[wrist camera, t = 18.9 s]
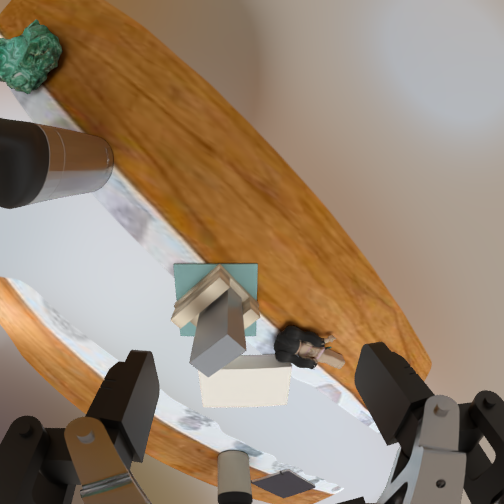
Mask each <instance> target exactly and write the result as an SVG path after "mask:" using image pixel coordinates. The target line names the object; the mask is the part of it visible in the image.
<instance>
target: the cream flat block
mask: <svg viewBox="0 0 504 504" xmlns="http://www.w3.org/2000/svg"><path fill="white" fill-rule="evenodd" d="M274 357H275V354H271V355H244V356H243V355H242V356H238V357H237V358H236V359H234V360H233V361H231V362H230V363H229V364H227V365H226V366H224V367H223V368H221V369H220V370H219V371H217V372H216V373H214V374H213V375H211V376H210V377H207V376H206V375H204V374H203V373H202V372H200V371H199V370H198V373H199V381H200V388H201V396H202V402H203V407H259V406H276V405H287V401H288V393H289V386H290V378H291V370H292V365H291V363H290V362H287V363H281V362H278V361H277V360H276V358H274Z"/></svg>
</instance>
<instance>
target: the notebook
mask: <svg viewBox="0 0 504 504" xmlns="http://www.w3.org/2000/svg"><path fill="white" fill-rule="evenodd" d="M251 483H252V484H254V485H256V486H258V487H260V488H262V489H264V490H267V491H269V492H271V493H273V494H275V495H277V496H280V497H282V498H286V497H289V496H292V495H295V494H298V493H301V492H304V491H307V490H310V489H313V488H315V485H314V484H312V483H311V482H309V481H307V480H306V479H304V478H302V477H301V476H299V475H297V474H296V473H294V472H292V471H291V470H289V469H286V470H283V471H280V472H277V473H274V474H271V475H268V476H265V477H262V478H258V479H255V480H251Z"/></svg>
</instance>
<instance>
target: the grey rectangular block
mask: <svg viewBox="0 0 504 504" xmlns="http://www.w3.org/2000/svg"><path fill="white" fill-rule="evenodd" d="M245 351H246V341H245V331H244V320H243V309H242V298H241V297H240V296H239V295H238V294H237V293H236V292H235V291H234V290H233V289H232V288H231V287H230V288H229V289H228V290H226V291H225V292H224V293H223V294H222V295H220V296H219V297H218V298H217V299H216V300H214V301H213V302H212V303H211V304H210V305H209V306H207V307H206V308H205V309H204V310H203V311H201V312H200V313H199V317H198V322H197V327H196V332H195V337H194V342H193V347H192V352H191V357H190V362H189V363H190V364H191V365H193V366H194V367H195V368H197V369H198V370H199V371H200V372H202V373H203V374H204V375H206V376H207V377H210V376H211V375H213V374H214V373H216V372H217V371H219V370H220V369H221V368H223V367H224V366H226V365H227V364H229V363H230V362H231V361H233V360H234V359H236V358H237V357H238V356H240V355H241V354H243V353H244V352H245Z"/></svg>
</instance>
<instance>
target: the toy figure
mask: <svg viewBox="0 0 504 504" xmlns="http://www.w3.org/2000/svg"><path fill="white" fill-rule="evenodd" d="M333 339H336V338H335V337H334V336H333V335H330V336H329V337H328V338H326V339H324V338H320V337H319V336H318V335H316V334H315V333H313V332H309V331H306V332H304V331H302V330H300V329H299V328H298V327H297V326H296V327H295V326H294V325H293V326H288V327H287V328H286V329H285V330H284V331H282V332H280V333H279V334H278V336H277V338H276V341H275V343H274V350H275V357H274V358H276V360H277V361H278V362H281V363H287V362H290V363H293V364H294V365H296V366H297V367H299V368H310V369H313V368H315V367H316V365H317V362H318V361H319V362H322V363H326V364H329V365H331V366H333V367H335V368H338V369H341V367H342V366H343V365H344V364H345V360H344V358H343V356H342V355H341V354H338V353H336V352H334V351H332V350H329V348H331V347H326V348H325V347H324V346H325V345H324V344H325V343H327V342H329V341H330V342H333ZM297 353H298V355H299V357H298V356H297V355H296V354H297ZM310 357H315V358H314V359H312V358H310ZM313 365H314V366H315V367H314V366H313Z"/></svg>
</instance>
